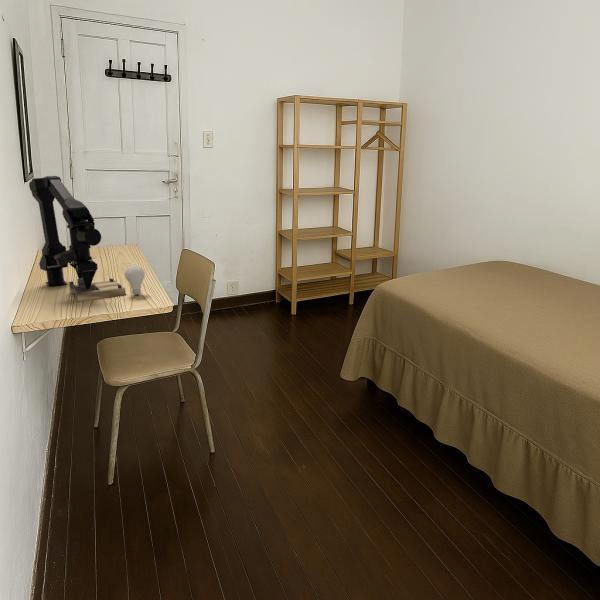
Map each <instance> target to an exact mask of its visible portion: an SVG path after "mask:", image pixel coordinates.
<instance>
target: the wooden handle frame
mask: <svg viewBox="0 0 600 600" xmlns="http://www.w3.org/2000/svg"><path fill="white" fill-rule="evenodd" d="M68 283H69V293H70V294H71V295H75V297H76V301H77V302H79V303H80V302H84V301H85V302H86V301H94V300H99V299H107V298H112V296H114V297H119V296H126V295H127V292H126V287H125V286H123V285H122V284H120V282H118V281H116V280H115V279H114V278H109V280H107V281H98V282H92V283H91V284H92V290H93V291H89V292H82V293H81V292H80V288H78V284H74V281H68ZM106 297H107V298H106Z"/></svg>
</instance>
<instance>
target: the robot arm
mask: <svg viewBox="0 0 600 600" xmlns="http://www.w3.org/2000/svg"><path fill="white" fill-rule="evenodd" d="M28 187H29V190H30V191H31V194H32V197H33V198H34V199H35V201H36V202H37V203H38V206H39V213H40V220H41V225H42V229H43V230H42V231H43V236H44V245H43V246H42V249H41V253H42V254H41V257H40V260H39V268H40V270H42V271H45V272H46V279H47V281H45V284H46V286H47V287H55V286H56V287H57V286H63V285H67V281H65V277H64V270H63V269H64V268H68V267H69V266H71V267H72V268H73V269H74V270H75V272H76V276H77V279H79V278H83V280H84V284H85V287H86V289H90V286H91V283H93V280H94V277H95V274H96V273H97V270H99V268H98V263H97V262H95V261H94V260H93V258H92V256H91V252H90V249H91V248H92V247H93V246H98V245H99V244H100V242H101V240H102V234H101V232H100V231H99V230H98V229H97V228H96V227H95V226H96V223H95V219H94V217H93V216H92V214H91V212H90V210H89V209H88V207H87V206H86V205H85V204H84V203H83V202H82V201H80V200H77V199H75V198H74V196H73V195H72V194H71V193H70V191H69V190H68V188H67V187H66V186H65V185H64V183H63V182H62V179H61V177H60V176H58V175H51V176H50V175H46V176H44V177H35V178H34V177H33V178H31V181H30V182H29V183H28ZM55 200H56V201H57V203H58V204H59V205H60V206H61V209H62V213H61V214H62V216H63V218H64V220H65V222H66V223H67V224H66V225H67V226H66V228H67V229H68V232H69V239H70V245H69V246H68V248H69V249H67V247H66V246H65V245H63V244H62V243H61V242H60V238H59V231H58V226H57V224H58V223H57V220H56V213H55V207H54V202H55ZM91 246H92V247H91Z"/></svg>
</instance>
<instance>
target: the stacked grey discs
mask: <svg viewBox="0 0 600 600" xmlns="http://www.w3.org/2000/svg"><path fill="white" fill-rule="evenodd" d="M76 285H78V288H80V292H81V293H82V292H89V291H93V290H92V284H91V286H90V289H86V287H85V284H84V280H83V278H77V284H76Z"/></svg>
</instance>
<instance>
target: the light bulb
mask: <svg viewBox="0 0 600 600" xmlns="http://www.w3.org/2000/svg"><path fill="white" fill-rule="evenodd" d="M145 275H146V272H145V270H144V268H143V267H142V266H140V265H139V264H132V265H129V266H128V267H127V268H126V269H125V272H124V276H125V277H124V278H125V279H126V281H127V282H128V283H129V285H130V288H131V291H132V292H131V293H132V294H133V295H134V296H139V295H141V293H142V291H141V289H142V283H143V281H144V279H145Z"/></svg>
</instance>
